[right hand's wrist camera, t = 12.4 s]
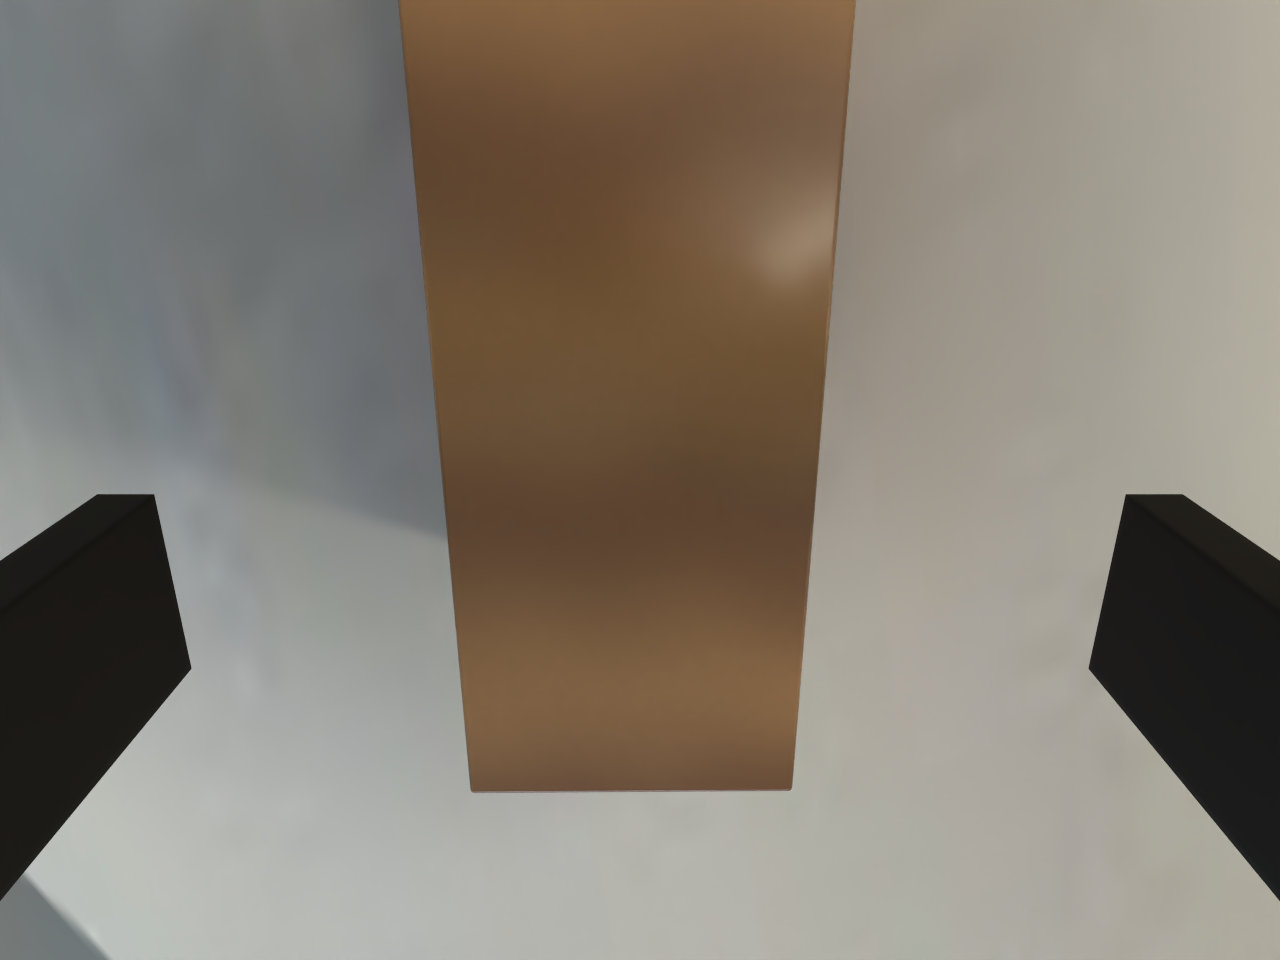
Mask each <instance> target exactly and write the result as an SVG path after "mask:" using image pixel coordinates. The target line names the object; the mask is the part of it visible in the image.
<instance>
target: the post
mask: <svg viewBox="0 0 1280 960" xmlns="http://www.w3.org/2000/svg"><path fill="white" fill-rule="evenodd" d="M398 3H399V13H400V24H401V35H402V46H403V57H404V68H405V79H406V90H407V101H408V112H409V123H410V133H411V144H412V155H413V166H414V177H415V188H416V199H417V210H418V221H419V232H420V243H421V254H422V264H423V275H424V286H425V297H426V308H427V319H428V330H429V341H430V352H431V363H432V374H433V384H434V395H435V406H436V417H437V428H438V439H439V450H440V461H441V472H442V483H443V494H444V505H445V515H446V526H447V537H448V548H449V559H450V570H451V581H452V592H453V603H454V614H455V625H456V635H457V646H458V657H459V668H460V679H461V690H462V701H463V712H464V723H465V734H466V745H467V756H468V766H469V777H470V788H471V791H472V792H473V793H524V792H672V791H789V790H791V788H792V782H793V770H794V757H795V745H796V733H797V720H798V708H799V696H800V683H801V671H802V658H803V646H804V634H805V621H806V609H807V597H808V584H809V572H810V560H811V547H812V535H813V523H814V510H815V498H816V486H817V473H818V461H819V449H820V436H821V424H822V412H823V399H824V387H825V375H826V362H827V350H828V338H829V325H830V313H831V300H832V288H833V276H834V263H835V251H836V239H837V226H838V214H839V202H840V189H841V177H842V165H843V152H844V140H845V128H846V115H847V103H848V91H849V78H850V66H851V54H852V41H853V29H854V17H855V4H856V0H398Z"/></svg>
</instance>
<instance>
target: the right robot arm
mask: <svg viewBox="0 0 1280 960" xmlns="http://www.w3.org/2000/svg"><path fill="white" fill-rule="evenodd" d="M190 670H191V664H190V659H189V655H188V650H187V646H186V641H185V636H184V632H183V627H182V622H181V618H180V613H179V608H178V604H177V599H176V594H175V590H174V585H173V580H172V576H171V571H170V566H169V562H168V557H167V552H166V548H165V543H164V538H163V534H162V529H161V524H160V520H159V515H158V510H157V506H156V501H155V496H154V494H97V495H96V496H94V497H93V498H91V499H90V500H88V501H87V502H86V503H84V504H83V505H81V506H80V507H78V508H77V509H75V510H74V511H72V512H71V513H69V514H68V515H67V516H65V517H64V518H62V519H61V520H59V521H58V522H56V523H55V524H53V525H52V526H50V527H49V528H47V529H46V530H45V531H43V532H42V533H40V534H39V535H37V536H36V537H34V538H33V539H31V540H30V541H28V542H27V543H26V544H24V545H23V546H21V547H20V548H18V549H17V550H15V551H14V552H12V553H11V554H9V555H8V556H7V557H5V558H4V559H2V560H1V561H0V901H1V899H2V898H3V897H4V896H5V894H6V893H7V892H8V891H9V890H10V888H11V887H12V886H13V885H14V884H15V882H16V881H17V880H18V879H19V877H20V876H21V875H22V874H23V873H24V871H25V870H26V869H27V868H28V867H29V865H30V864H31V863H32V862H33V860H34V859H35V858H36V857H37V856H38V854H39V853H40V852H41V851H42V849H43V848H44V847H45V846H46V845H47V843H48V842H49V841H50V840H51V839H52V837H53V836H54V835H55V834H56V832H57V831H58V830H59V829H60V828H61V826H62V825H63V824H64V823H65V822H66V820H67V819H68V818H69V817H70V815H71V814H72V813H73V812H74V811H75V809H76V808H77V807H78V806H79V805H80V803H81V802H82V801H83V800H84V798H85V797H86V796H87V795H88V794H89V792H90V791H91V790H92V789H93V788H94V786H95V785H96V784H97V783H98V781H99V780H100V779H101V778H102V777H103V775H104V774H105V773H106V772H107V771H108V769H109V768H110V767H111V766H112V764H113V763H114V762H115V761H116V760H117V758H118V757H119V756H120V755H121V754H122V752H123V751H124V750H125V749H126V747H127V746H128V745H129V744H130V743H131V741H132V740H133V739H134V738H135V737H136V735H137V734H138V733H139V732H140V730H141V729H142V728H143V727H144V726H145V724H146V723H147V722H148V721H149V720H150V718H151V717H152V716H153V715H154V713H155V712H156V711H157V710H158V709H159V707H160V706H161V705H162V704H163V703H164V701H165V700H166V699H167V698H168V696H169V695H170V694H171V693H172V692H173V690H174V689H175V688H176V687H177V686H178V684H179V683H180V682H181V681H182V679H183V678H184V677H185V676H186V675H187V673H188V672H189V671H190ZM1089 670H1090V671H1091V672H1092V673H1093V675H1094V676H1095V677H1096V678H1097V679H1098V681H1099V682H1100V683H1101V684H1102V686H1103V687H1104V688H1105V689H1106V690H1107V692H1108V693H1109V694H1110V695H1111V696H1112V698H1113V699H1114V700H1115V701H1116V703H1117V704H1118V705H1119V706H1120V707H1121V709H1122V710H1123V711H1124V712H1125V713H1126V715H1127V716H1128V717H1129V718H1130V720H1131V721H1132V722H1133V723H1134V724H1135V726H1136V727H1137V728H1138V729H1139V730H1140V732H1141V733H1142V734H1143V735H1144V737H1145V738H1146V739H1147V740H1148V741H1149V743H1150V744H1151V745H1152V746H1153V747H1154V749H1155V750H1156V751H1157V752H1158V754H1159V755H1160V756H1161V757H1162V758H1163V760H1164V761H1165V762H1166V763H1167V764H1168V766H1169V767H1170V768H1171V769H1172V771H1173V772H1174V773H1175V774H1176V775H1177V777H1178V778H1179V779H1180V780H1181V781H1182V783H1183V784H1184V785H1185V786H1186V788H1187V789H1188V790H1189V791H1190V792H1191V794H1192V795H1193V796H1194V797H1195V798H1196V800H1197V801H1198V802H1199V803H1200V805H1201V806H1202V807H1203V808H1204V809H1205V811H1206V812H1207V813H1208V814H1209V815H1210V817H1211V818H1212V819H1213V820H1214V822H1215V823H1216V824H1217V825H1218V826H1219V828H1220V829H1221V830H1222V831H1223V832H1224V834H1225V835H1226V836H1227V837H1228V839H1229V840H1230V841H1231V842H1232V843H1233V845H1234V846H1235V847H1236V848H1237V849H1238V851H1239V852H1240V853H1241V854H1242V856H1243V857H1244V858H1245V859H1246V860H1247V862H1248V863H1249V864H1250V865H1251V867H1252V868H1253V869H1254V870H1255V871H1256V873H1257V874H1258V875H1259V876H1260V877H1261V879H1262V880H1263V881H1264V882H1265V884H1266V885H1267V886H1268V887H1269V888H1270V890H1271V891H1272V892H1273V893H1274V894H1275V896H1276V897H1277V898H1278V899H1279V901H1280V561H1279V560H1278V559H1276V558H1275V557H1273V556H1272V555H1271V554H1269V553H1268V552H1266V551H1265V550H1263V549H1262V548H1260V547H1259V546H1257V545H1256V544H1254V543H1253V542H1252V541H1250V540H1249V539H1247V538H1246V537H1244V536H1243V535H1241V534H1240V533H1238V532H1237V531H1235V530H1234V529H1233V528H1231V527H1230V526H1228V525H1227V524H1225V523H1224V522H1222V521H1221V520H1219V519H1218V518H1216V517H1215V516H1213V515H1212V514H1211V513H1209V512H1208V511H1206V510H1205V509H1203V508H1202V507H1200V506H1199V505H1197V504H1196V503H1194V502H1193V501H1192V500H1190V499H1189V498H1187V497H1186V496H1184V495H1183V494H1126V496H1125V501H1124V506H1123V510H1122V515H1121V520H1120V524H1119V529H1118V534H1117V538H1116V543H1115V548H1114V552H1113V557H1112V562H1111V566H1110V571H1109V576H1108V580H1107V585H1106V590H1105V594H1104V599H1103V604H1102V608H1101V613H1100V618H1099V622H1098V627H1097V632H1096V636H1095V641H1094V646H1093V650H1092V655H1091V659H1090V664H1089Z"/></svg>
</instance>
